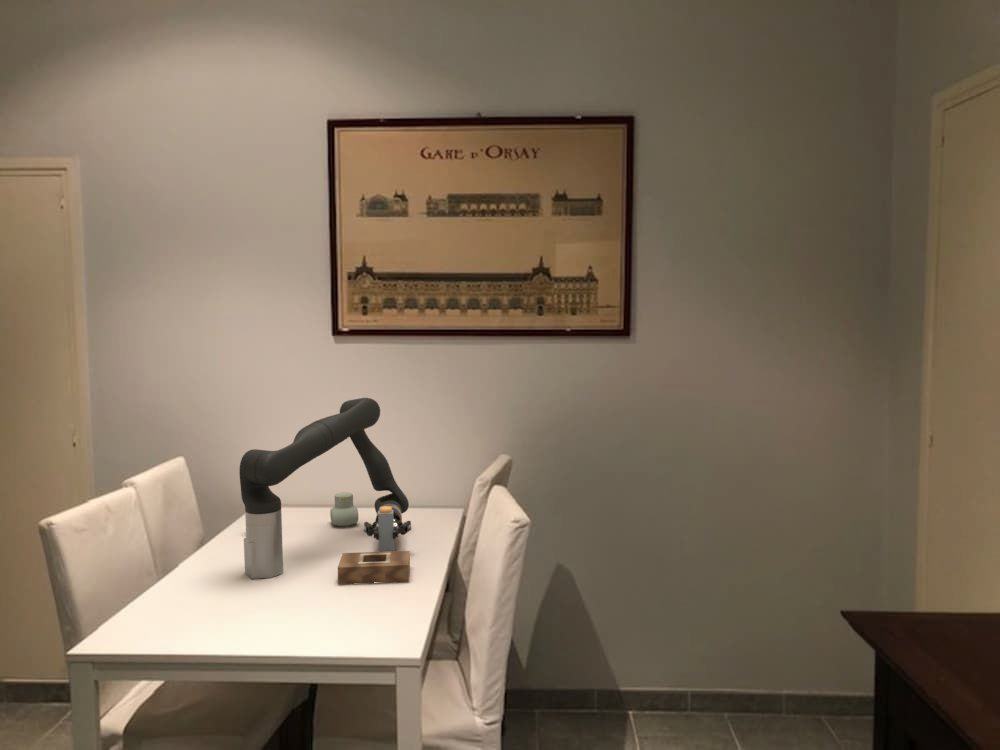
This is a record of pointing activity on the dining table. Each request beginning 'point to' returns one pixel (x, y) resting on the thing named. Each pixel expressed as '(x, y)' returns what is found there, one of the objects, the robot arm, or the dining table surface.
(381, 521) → the peg
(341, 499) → the air freshener
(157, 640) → the dining table surface
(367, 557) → the socket block
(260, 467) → the robot arm
